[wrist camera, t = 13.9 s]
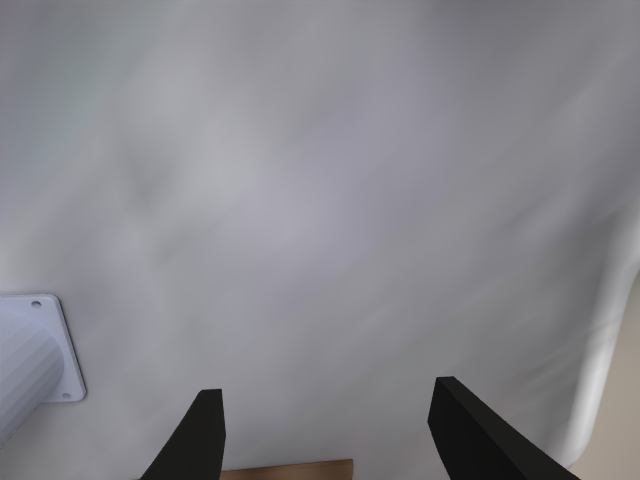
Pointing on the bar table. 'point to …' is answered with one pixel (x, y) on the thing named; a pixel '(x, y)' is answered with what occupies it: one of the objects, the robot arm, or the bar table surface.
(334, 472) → the socket block
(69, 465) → the bar table surface
